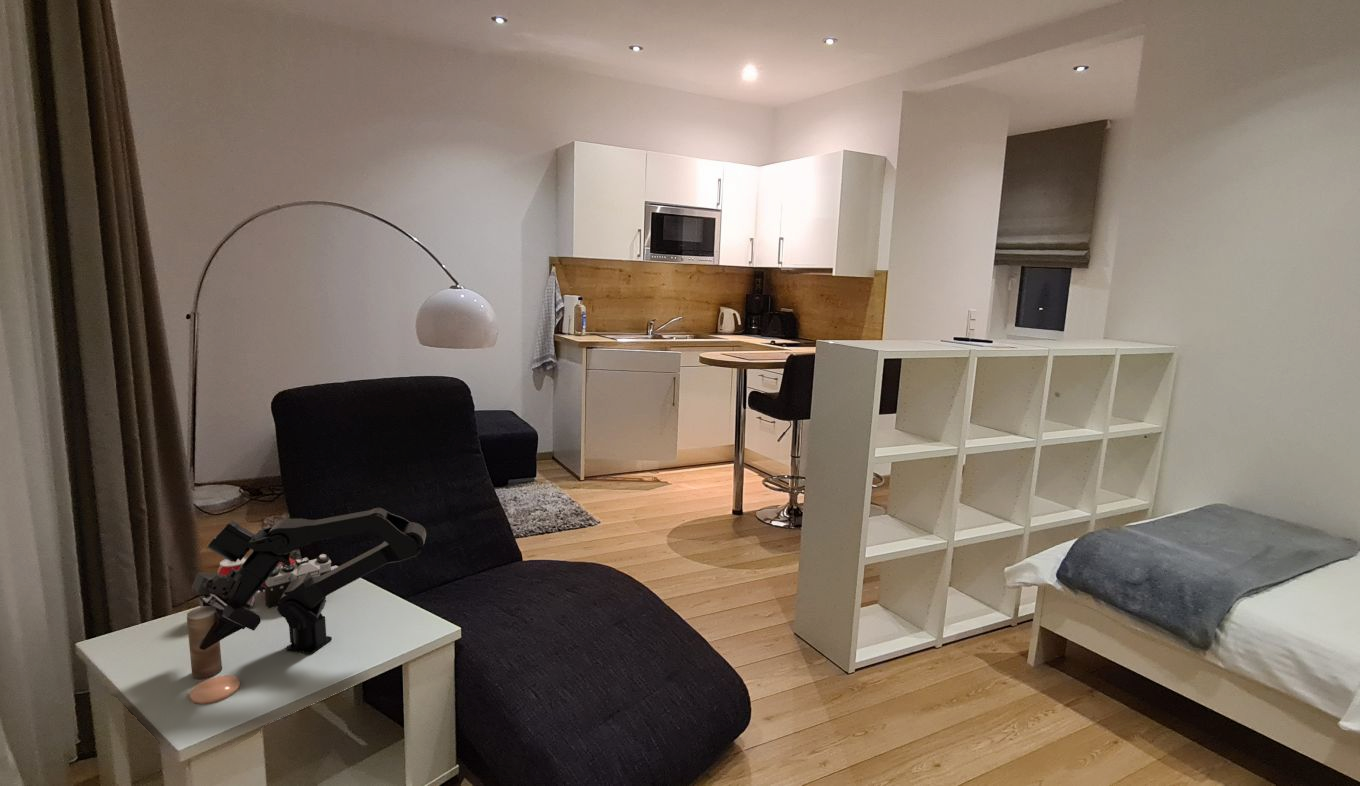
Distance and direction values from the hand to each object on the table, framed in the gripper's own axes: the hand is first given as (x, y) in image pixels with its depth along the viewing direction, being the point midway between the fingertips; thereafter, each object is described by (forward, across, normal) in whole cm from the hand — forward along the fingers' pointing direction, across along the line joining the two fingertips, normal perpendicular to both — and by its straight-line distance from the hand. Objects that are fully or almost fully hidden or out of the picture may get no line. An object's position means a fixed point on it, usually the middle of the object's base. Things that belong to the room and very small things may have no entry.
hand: (196, 644), depth 139 cm
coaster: (+5, +8, +5) cm, 11 cm away
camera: (-14, -16, +24) cm, 33 cm away
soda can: (-6, -25, +16) cm, 30 cm away
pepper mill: (+4, 0, +6) cm, 7 cm away
